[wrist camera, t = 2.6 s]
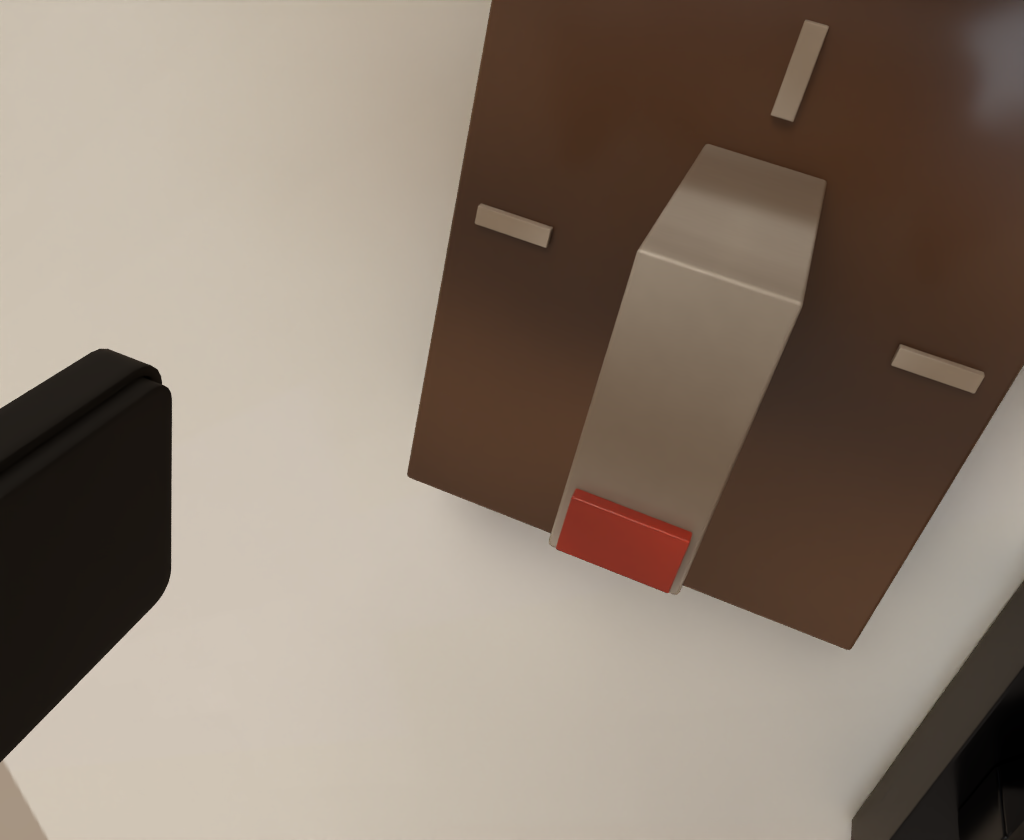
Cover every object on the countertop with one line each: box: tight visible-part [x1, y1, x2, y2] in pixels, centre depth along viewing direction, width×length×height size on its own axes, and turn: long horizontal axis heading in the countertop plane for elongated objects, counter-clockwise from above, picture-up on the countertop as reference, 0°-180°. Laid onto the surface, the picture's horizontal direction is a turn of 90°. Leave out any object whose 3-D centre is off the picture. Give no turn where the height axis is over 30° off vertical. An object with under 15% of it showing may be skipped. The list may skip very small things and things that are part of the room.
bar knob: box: [549, 144, 827, 595], centre depth 14 cm, size 5×2×5 cm, turn 168°
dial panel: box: [407, 0, 1024, 650], centre depth 17 cm, size 13×10×3 cm
